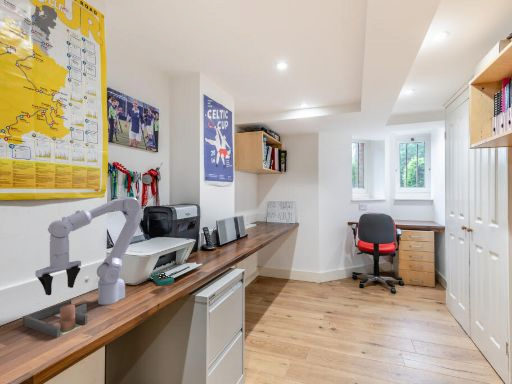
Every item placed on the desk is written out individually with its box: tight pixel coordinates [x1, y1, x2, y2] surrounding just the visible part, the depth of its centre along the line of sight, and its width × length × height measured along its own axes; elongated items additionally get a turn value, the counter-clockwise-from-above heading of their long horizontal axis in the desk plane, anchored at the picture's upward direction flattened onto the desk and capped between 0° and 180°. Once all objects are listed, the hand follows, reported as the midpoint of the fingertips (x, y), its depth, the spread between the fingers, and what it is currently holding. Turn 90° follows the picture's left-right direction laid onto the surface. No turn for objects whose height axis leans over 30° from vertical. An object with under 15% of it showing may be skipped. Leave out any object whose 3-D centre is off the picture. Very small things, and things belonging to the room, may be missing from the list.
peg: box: [59, 304, 76, 332], centre depth 89 cm, size 4×4×7 cm
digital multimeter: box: [151, 271, 175, 286], centre depth 139 cm, size 7×15×3 cm, turn 40°
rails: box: [22, 299, 89, 339], centre depth 95 cm, size 15×18×3 cm
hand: (59, 290), depth 100 cm, fingers open, 7 cm apart
